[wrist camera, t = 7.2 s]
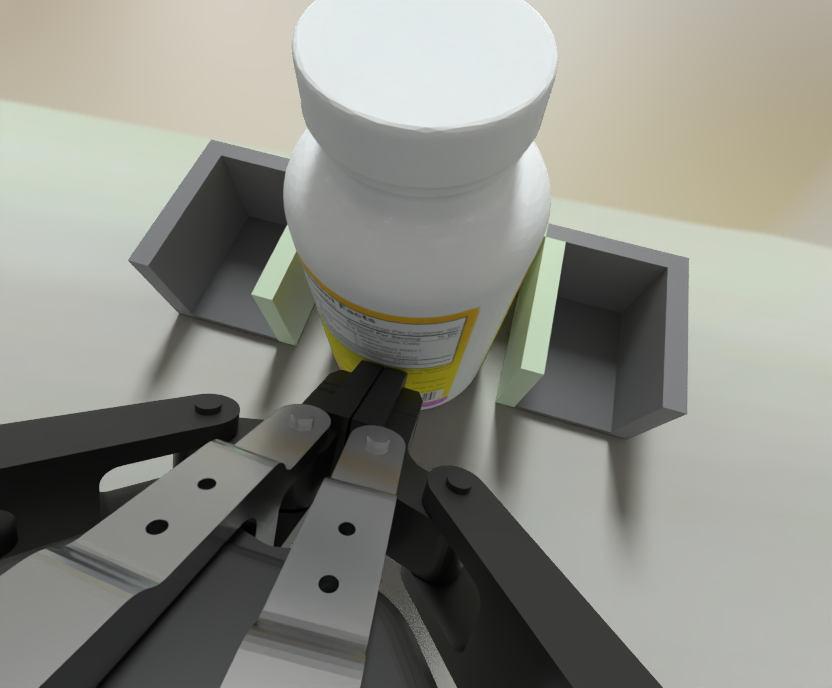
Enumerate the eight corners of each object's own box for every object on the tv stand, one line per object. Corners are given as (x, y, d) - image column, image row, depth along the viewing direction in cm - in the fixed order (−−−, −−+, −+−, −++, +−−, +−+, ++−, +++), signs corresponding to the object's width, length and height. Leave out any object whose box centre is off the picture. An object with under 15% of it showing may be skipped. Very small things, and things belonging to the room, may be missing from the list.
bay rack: (178, 313, 19) (127, 260, 16) (241, 205, 22) (211, 139, 18) (626, 439, 18) (687, 413, 14) (636, 308, 20) (688, 258, 17)
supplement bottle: (422, 257, 21) (457, -93, 9) (512, 358, 19) (701, 71, 7) (304, 328, 19) (163, 0, 7) (390, 448, 17) (383, 256, 5)
